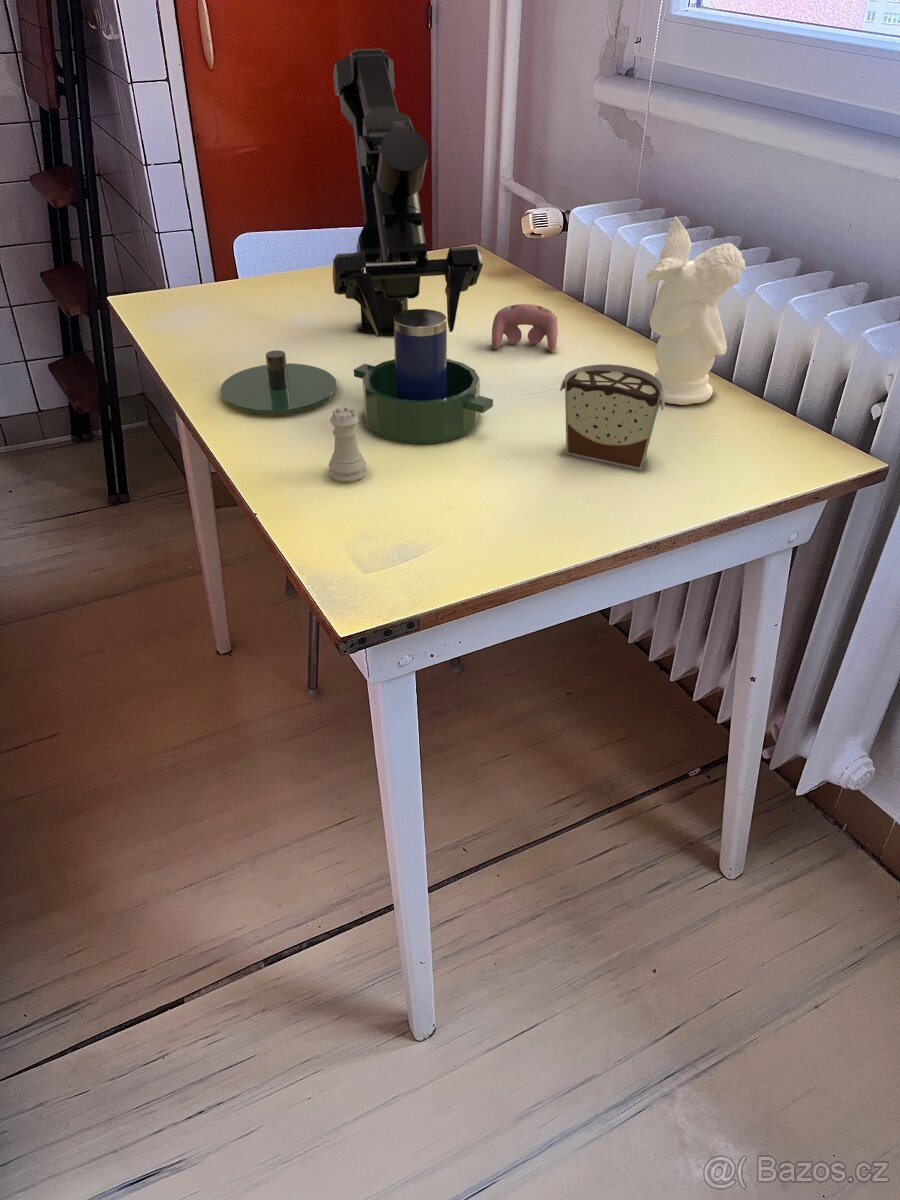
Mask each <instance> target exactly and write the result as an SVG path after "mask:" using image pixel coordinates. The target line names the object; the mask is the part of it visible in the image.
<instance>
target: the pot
mask: <svg viewBox="0 0 900 1200" xmlns="http://www.w3.org/2000/svg"><path fill="white" fill-rule="evenodd" d="M353 377H355V378H358V379H361V380H362V396H363V397H362V398H363V412H364V413H363V414H364V419H365V424H366V426H367V427H368V429H369V430H370V431H371V432H372V433H373V434H375V435H376V436H378V437H380V438H382V439H386V440H389V441H392V442H397V443H401V444H409V445H433V444H441V443H446V442H451V441H453V440H457V439H459V438H462V437H464V436H466V435H467V434H469V433H471V432H472V431H473V430H474V429H475V427H476V426H477V424H478V421H479V416H480V414H484V413H485V412H487V411H488V410H490V409H492V408H493V407H494V398H490V397H486V396H482V395H480V393H481V392H480V389H481V379H480V377H479V375H478V373H477V372H476V370H475V369H474V368H473V367H470V366H469V365H467V364H466V363H464V362H461V361H457V360H453V359H450V358H447V398H444V399H437V400H425V401H415V400H404V399H397V398H396V377H395V358H394V359H391V360H386V361H381V362H380V363H378V364H377V365H371V364H367V363H363V364H361V365H359V366H357V367H356V368H354V369H353Z"/></svg>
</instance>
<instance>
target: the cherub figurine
mask: <svg viewBox="0 0 900 1200" xmlns="http://www.w3.org/2000/svg"><path fill="white" fill-rule="evenodd" d="M669 226H670V227H668V228H667V230H666V231H667V235H666V236H665V242H664V243H663V248H661V250H660V254H659V259H658V262H657V263H656V264H655V265H654V267H653V269H650V270H649V273H647V274H646V276H645V278H646V280H645V281H646V282H647V284H650V285H654V284H656V282H660V281H664V282H663V283H662V284H661V286H660V288H659V289H658V292H657V295H656V299H655V302H654V306H653V308H652V311H651V314H650V317H649V327H650V329H651V330H652V331H653V333H655V334H656V335H659V336H660V337H659V339H658V341H657V343H656V347H655V353H654V358H655V363H656V366H657V370H656V371H655V372H654V376H655V377H656V378H657V379H658V380H659V381H660V382H661V384H662V388H663V390H664V400H665V404H671V405H674V404H675V405H679V406H684V405H686V406H687V405H692V404H701V403H704V402H706V401H708V400H709V399H710V398H711V397H712V395H713V393H714V389H713V387H712V385H711V384H710V383H709V381H710V375H709V372H711V370H712V368H713V366H714V363H715V359H716V356H725V355H726V353H727V351H728V346H727V341H726V336H725V331H724V327H723V323H722V319H721V315H720V312H719V309H718V307H717V304H718V303H719V302H720V301H721V299H722V296H723V294H725V293H726V292H728V290H729V289H730V288H732V287H734V286H735V285H737V284H738V283H739V282H740V280H741V278H742V277H741V276H742V274H743V271H744V270H745V269H746V260H745V259H743V253H742V252H741V251H740V249H739V248H737V247H736V245H734V244H733V243H731V242H727V243H722V244H719V245H717V246H711V247H710V248H709V249H706V250H705V251H704V252H702V253H700V254H699V255H697V256H696V257H695V259H693V258H690V255H691V249H692V241H691V238H690V235H689V232H688V231H687V229H686V228H685V227H684V225H683V224H682V222H681V221H680V220H679V218H678V217H677V216H676V215H675V216H674V218H673V221H670V222H669ZM689 259H690V260H689Z"/></svg>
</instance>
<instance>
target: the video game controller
mask: <svg viewBox="0 0 900 1200" xmlns="http://www.w3.org/2000/svg"><path fill="white" fill-rule="evenodd" d="M525 325H526V326H532V327H531V328H530V329H529V330H528V333H527V339H528V341H529V343H530V344H532V345H538V344H540V343H541V342H542V341H543V339H544V338H545V337H546V342H547V348H548V350H549V352H550V353H553V352H554V351H555V349H556V347H557V343H558V331H559V329H558V319H557V316H556V315H555V313H554V312H553V311H552V310H550V309H549V308H547V307H543V306H541V305H537V304H530V303H517V304H513V305H507V306H503V307H502V308H501V309H500V310H498V311H497V313H496V314H495V315H494V318H493V321H492V327H491V345H492V348H493V349H494V350H495V351H496V350H498V349H499V348H500V346H501V345H502V342H503V339H504V338H503V337H504V336H505V337H506V338H507V341H508V342H509V343H511V344H517V343H520V341H522V338H523V334H522V330H521V329H520V328H519V326H525Z"/></svg>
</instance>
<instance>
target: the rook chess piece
mask: <svg viewBox="0 0 900 1200" xmlns="http://www.w3.org/2000/svg"><path fill="white" fill-rule="evenodd" d="M331 413H332V415H331V416H330V418H329V422H330V424H331V425H332V426H333V430H332V434H333V436H334V447H333V453H332V455H331V457H330V459H329V461H328V468H329V469H328V475H329V476H330V477H331V478H332V480H334V481H336V482H338V483H341V484H342V483H343V484H351V483H356V482H359V481H361V480H362V479H363V478H364V477H365V475H366V474H367V471H368V470H367V467H366V465H367V463H366V459H365V457H364V456H363V455H362V453H361V452H360V450H359V447H358V441H357V434H358V429H357V427H356V425H357V424H358V422H359V420H360V419H359V418H360V417H359V416H358V415H357V414H356V411H355V409H354V408H353V407H351V408H349V406H343V410H341V407H340V406H339V407H336V408H335V409H334V410H332V412H331Z"/></svg>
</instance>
